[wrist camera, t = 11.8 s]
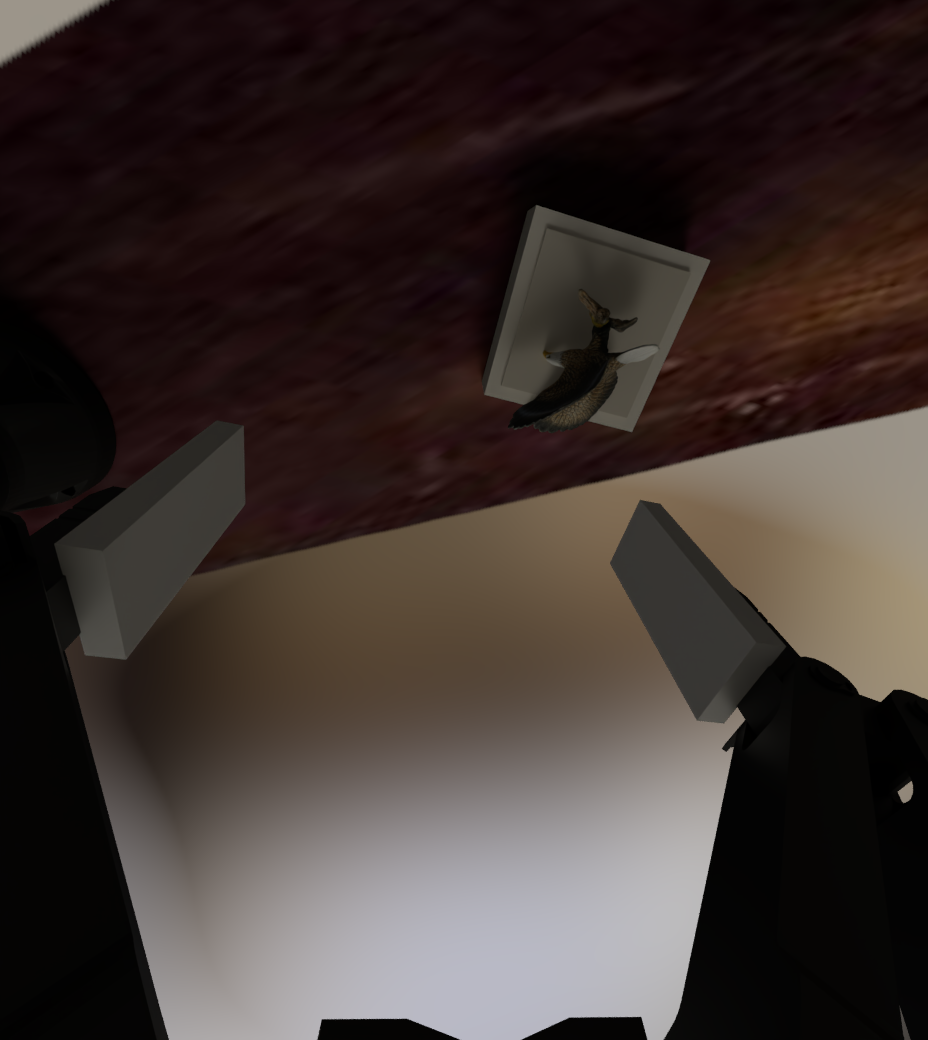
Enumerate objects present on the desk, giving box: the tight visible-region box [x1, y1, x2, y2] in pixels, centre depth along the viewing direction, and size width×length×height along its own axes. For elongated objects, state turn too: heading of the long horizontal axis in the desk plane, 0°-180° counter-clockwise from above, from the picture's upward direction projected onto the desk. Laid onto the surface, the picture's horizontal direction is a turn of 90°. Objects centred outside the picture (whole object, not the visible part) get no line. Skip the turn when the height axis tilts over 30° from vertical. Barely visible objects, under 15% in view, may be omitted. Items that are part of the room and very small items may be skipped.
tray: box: [482, 205, 710, 432], centre depth 33 cm, size 12×12×4 cm
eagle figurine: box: [508, 289, 660, 433], centre depth 30 cm, size 8×7×9 cm
